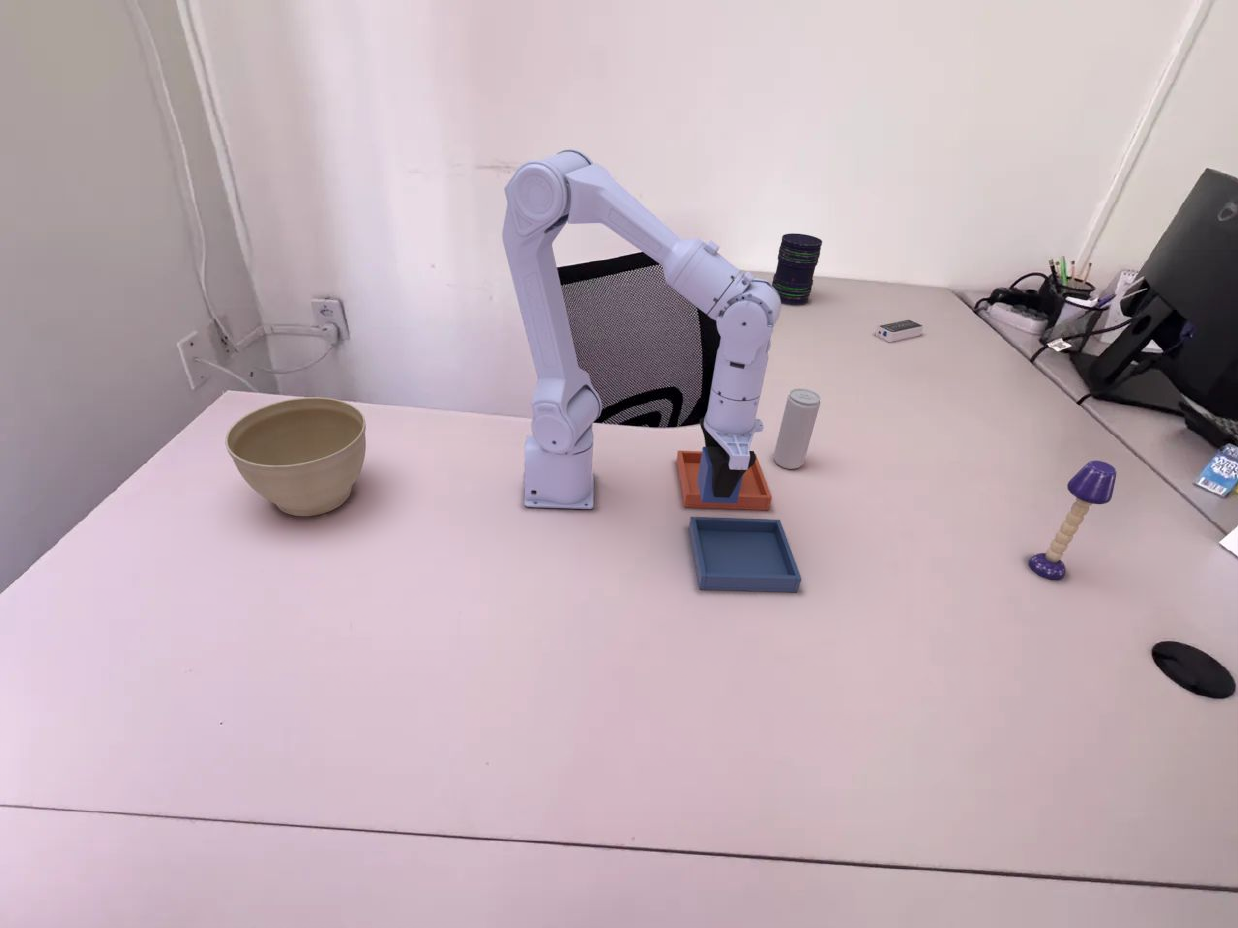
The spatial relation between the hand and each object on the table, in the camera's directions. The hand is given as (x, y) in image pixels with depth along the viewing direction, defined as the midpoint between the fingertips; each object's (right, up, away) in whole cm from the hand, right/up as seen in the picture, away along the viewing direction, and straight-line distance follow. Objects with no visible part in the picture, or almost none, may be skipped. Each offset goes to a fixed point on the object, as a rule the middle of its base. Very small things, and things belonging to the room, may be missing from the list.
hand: (718, 483), depth 83 cm
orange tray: (+3, -1, +14) cm, 15 cm away
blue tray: (+3, -10, +1) cm, 10 cm away
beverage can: (+14, +3, +21) cm, 25 cm away
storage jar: (+31, +45, +84) cm, 100 cm away
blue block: (0, -1, +1) cm, 1 cm away
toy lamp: (+44, -12, +4) cm, 46 cm away
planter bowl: (-54, -2, +6) cm, 54 cm away
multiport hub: (+52, +32, +68) cm, 92 cm away
